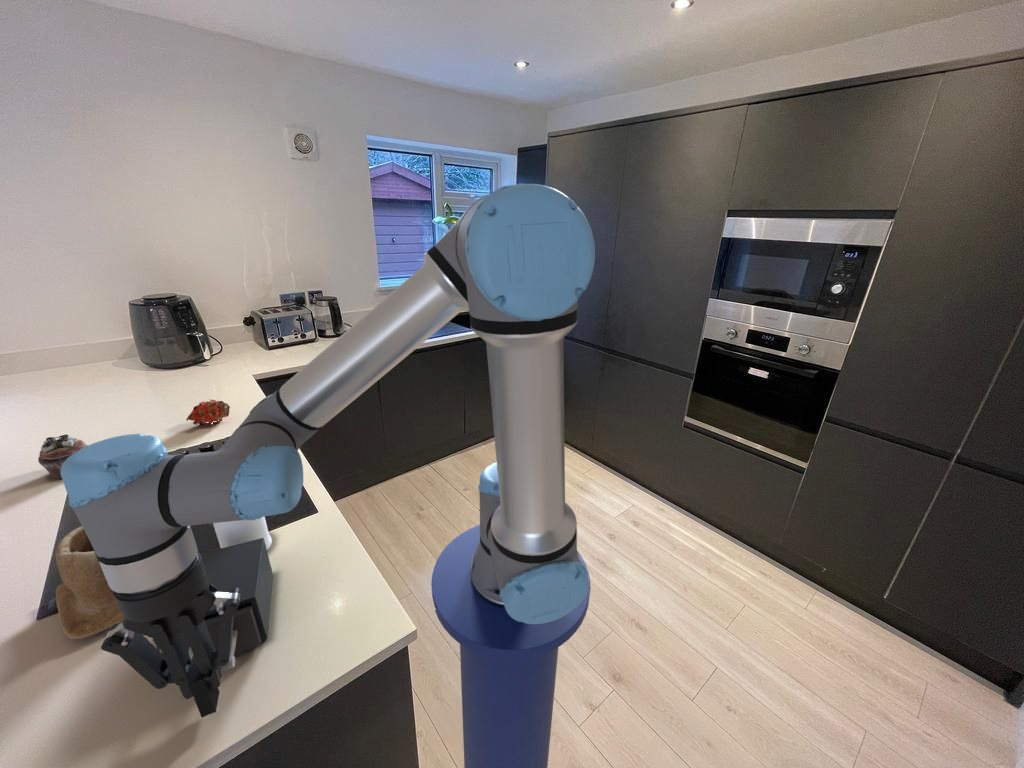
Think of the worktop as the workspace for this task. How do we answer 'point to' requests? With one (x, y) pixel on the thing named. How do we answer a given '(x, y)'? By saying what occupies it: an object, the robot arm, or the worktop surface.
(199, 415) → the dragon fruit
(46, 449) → the cupcake
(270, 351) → the worktop surface
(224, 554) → the cabinet
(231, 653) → the drawer
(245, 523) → the mug
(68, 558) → the stone cup
